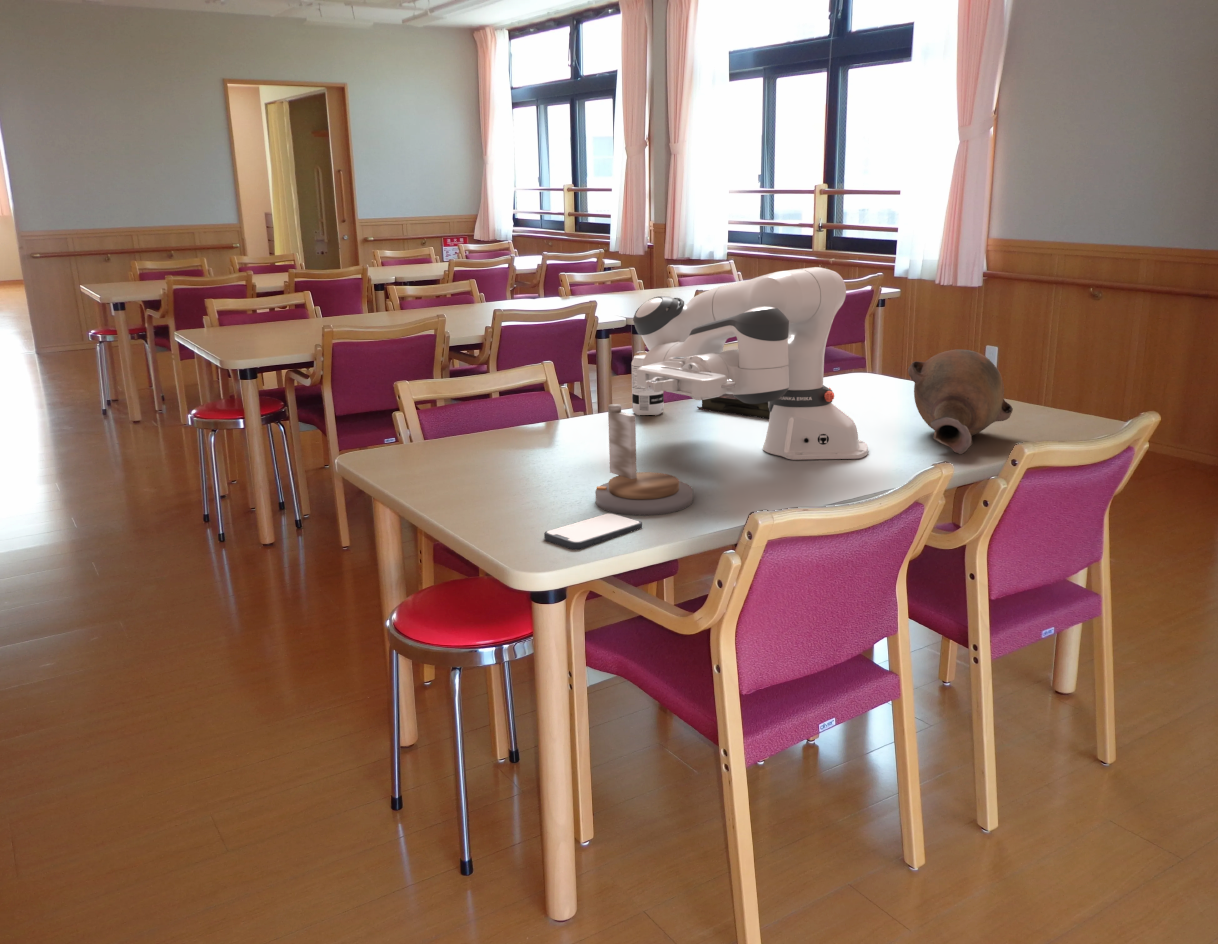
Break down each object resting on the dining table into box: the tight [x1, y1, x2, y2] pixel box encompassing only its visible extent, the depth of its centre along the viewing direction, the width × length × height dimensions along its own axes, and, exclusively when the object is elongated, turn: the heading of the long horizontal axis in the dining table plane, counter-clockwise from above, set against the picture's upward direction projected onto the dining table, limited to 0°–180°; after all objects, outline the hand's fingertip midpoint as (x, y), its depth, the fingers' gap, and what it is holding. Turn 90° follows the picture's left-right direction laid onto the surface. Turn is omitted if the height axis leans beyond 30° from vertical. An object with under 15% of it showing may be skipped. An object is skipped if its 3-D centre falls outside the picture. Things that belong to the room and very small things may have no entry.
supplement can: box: [630, 353, 665, 416], centre depth 258 cm, size 8×8×15 cm
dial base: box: [594, 480, 694, 516], centre depth 184 cm, size 18×18×2 cm
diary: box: [696, 393, 770, 420], centre depth 261 cm, size 19×25×5 cm
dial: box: [607, 403, 680, 499], centre depth 182 cm, size 16×13×15 cm
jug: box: [907, 348, 1014, 455], centre depth 219 cm, size 20×20×30 cm
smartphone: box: [543, 512, 643, 551], centre depth 167 cm, size 9×2×16 cm
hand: (649, 386), depth 187 cm, fingers closed
